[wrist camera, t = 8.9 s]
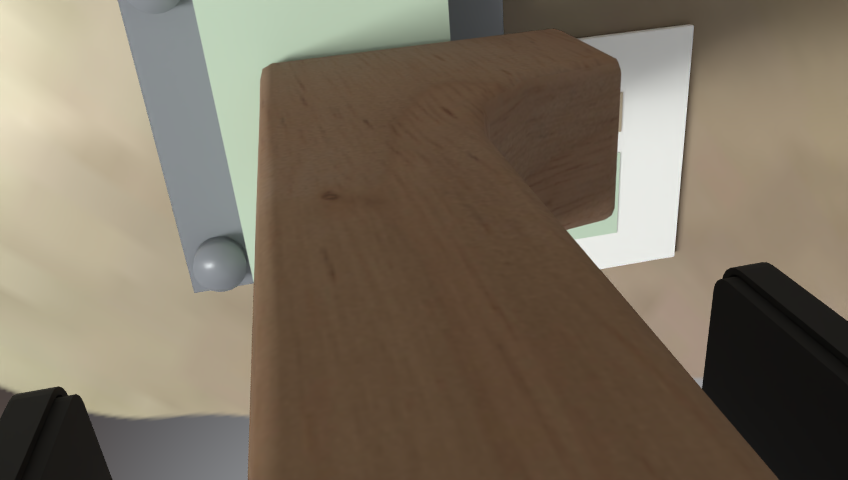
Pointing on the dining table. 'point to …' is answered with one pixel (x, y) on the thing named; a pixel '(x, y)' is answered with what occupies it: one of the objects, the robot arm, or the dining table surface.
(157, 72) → the baseplate
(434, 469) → the wooden block
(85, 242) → the dining table surface
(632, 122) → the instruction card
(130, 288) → the dining table surface
